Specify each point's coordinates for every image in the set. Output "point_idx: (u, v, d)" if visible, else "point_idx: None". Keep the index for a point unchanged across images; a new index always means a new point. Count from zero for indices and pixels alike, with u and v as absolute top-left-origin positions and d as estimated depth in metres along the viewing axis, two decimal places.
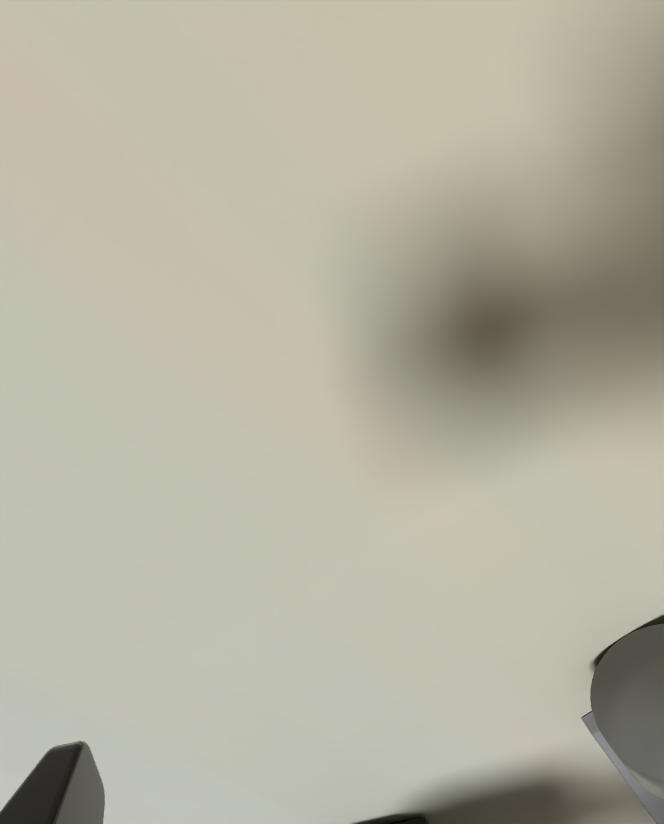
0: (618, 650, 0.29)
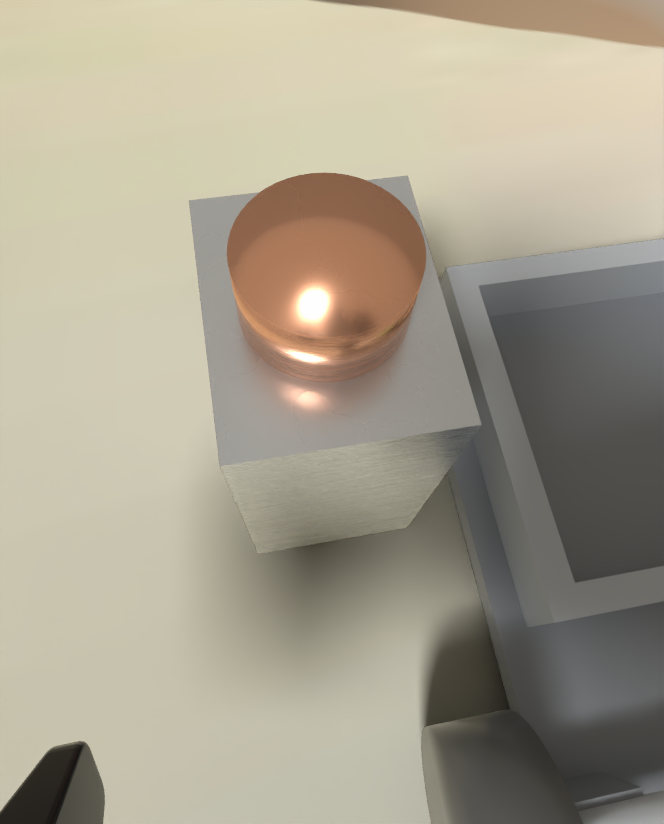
0: None
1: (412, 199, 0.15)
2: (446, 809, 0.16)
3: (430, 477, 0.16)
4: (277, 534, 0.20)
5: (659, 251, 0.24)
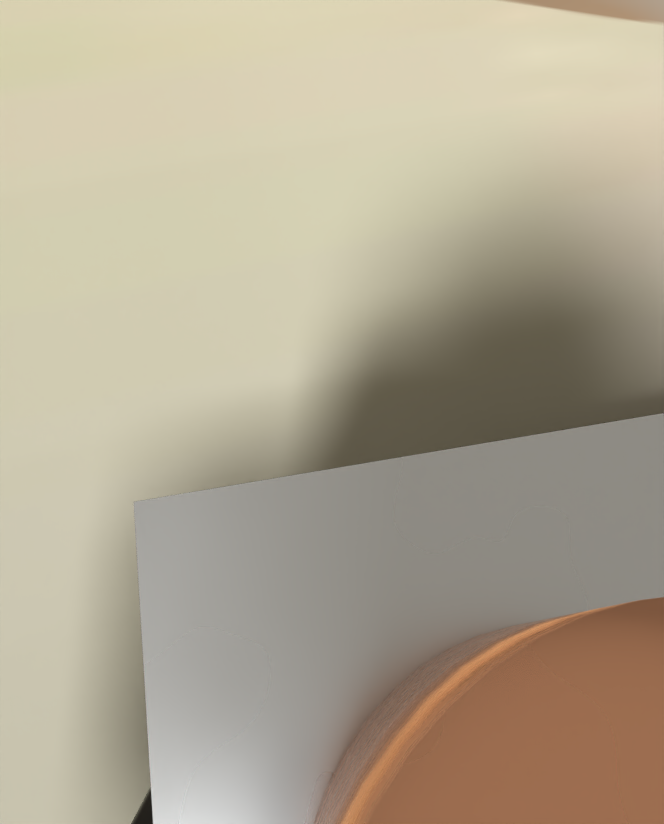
0: None
1: None
2: None
3: None
4: None
5: None
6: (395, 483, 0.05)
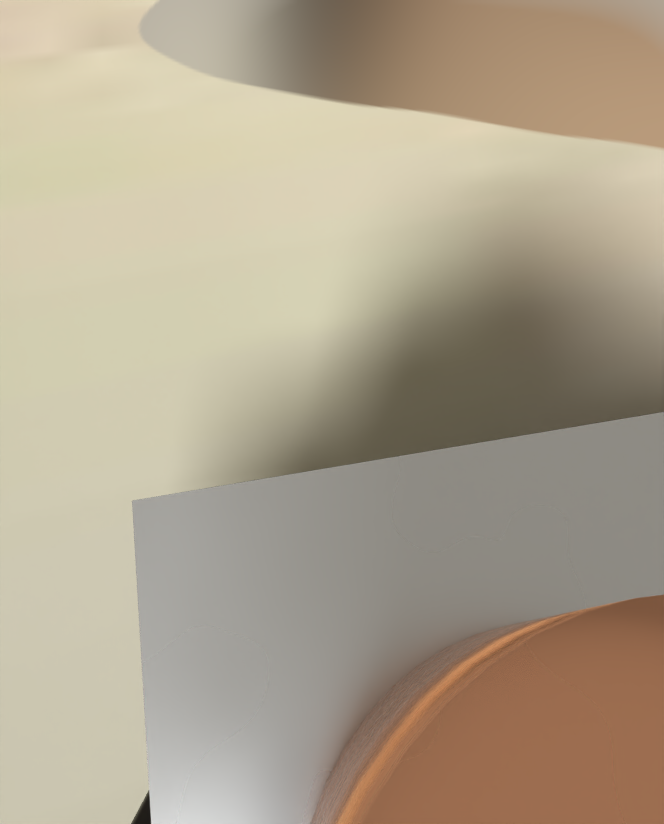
0: None
1: None
2: None
3: None
4: None
5: None
6: (393, 482, 0.05)
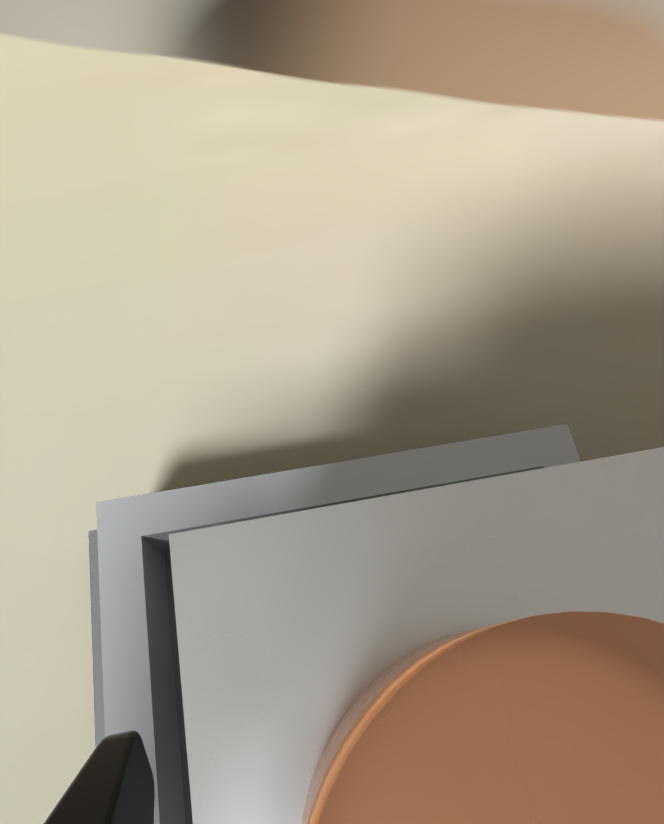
0: None
1: None
2: None
3: None
4: None
5: (443, 465, 0.15)
6: (375, 518, 0.06)
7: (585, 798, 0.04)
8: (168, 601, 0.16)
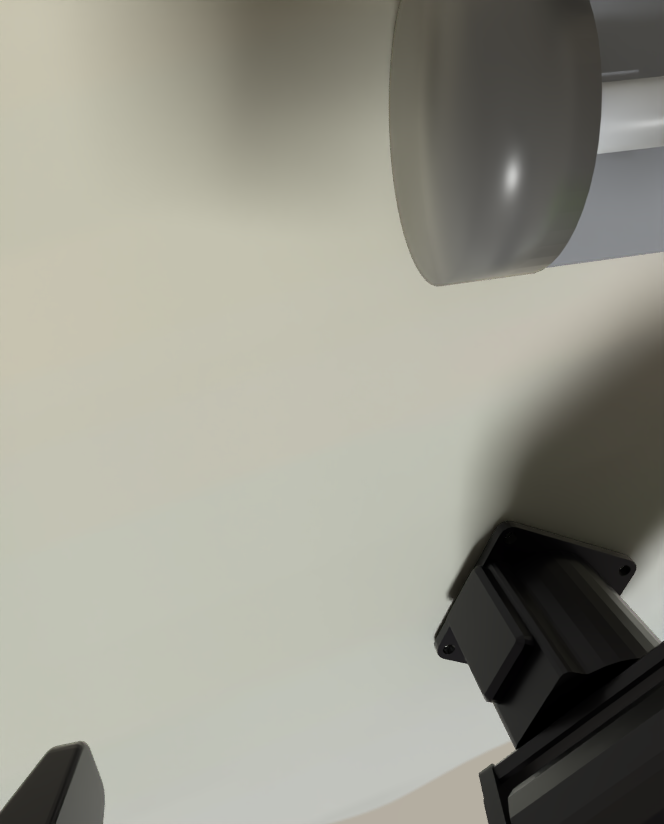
0: (394, 168, 0.17)
1: None
2: (422, 67, 0.14)
3: None
4: None
5: None
6: None
7: None
8: None
